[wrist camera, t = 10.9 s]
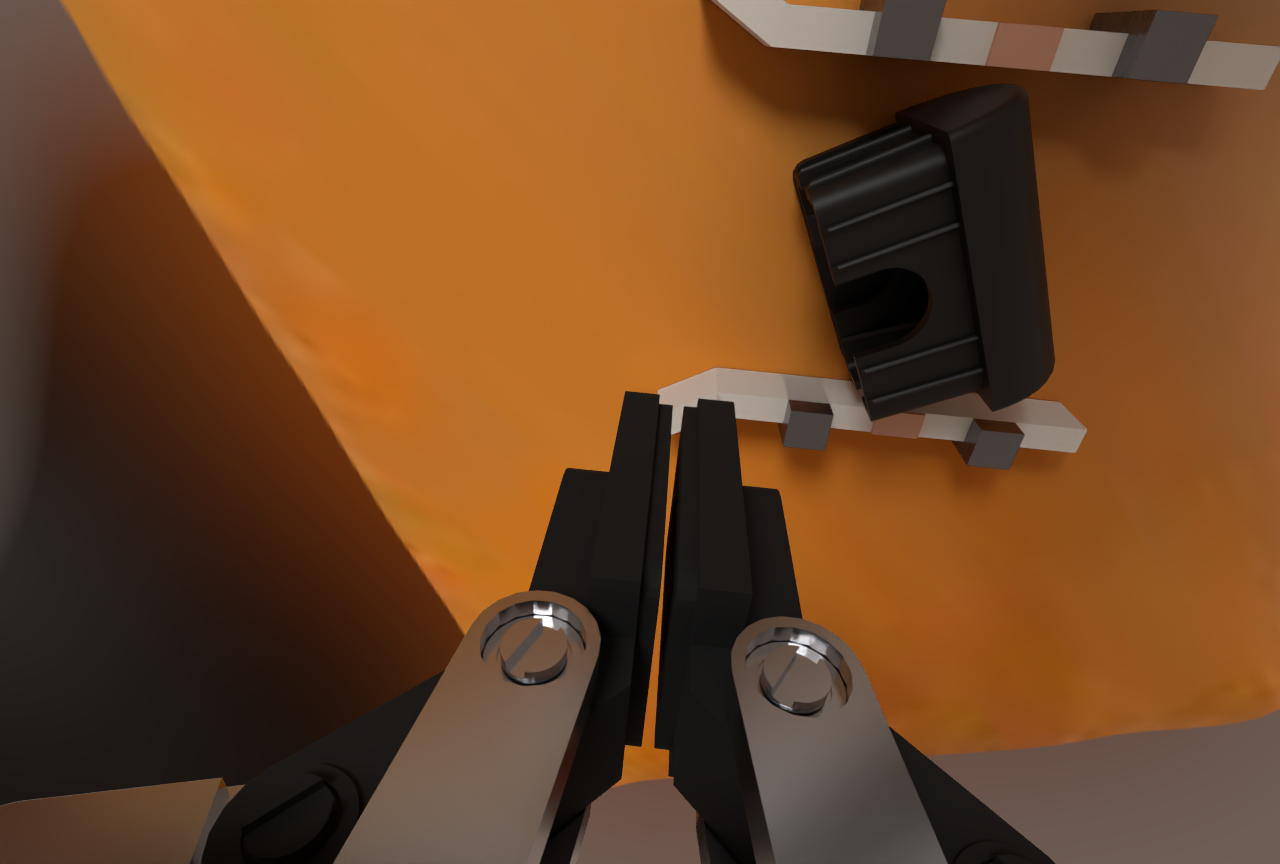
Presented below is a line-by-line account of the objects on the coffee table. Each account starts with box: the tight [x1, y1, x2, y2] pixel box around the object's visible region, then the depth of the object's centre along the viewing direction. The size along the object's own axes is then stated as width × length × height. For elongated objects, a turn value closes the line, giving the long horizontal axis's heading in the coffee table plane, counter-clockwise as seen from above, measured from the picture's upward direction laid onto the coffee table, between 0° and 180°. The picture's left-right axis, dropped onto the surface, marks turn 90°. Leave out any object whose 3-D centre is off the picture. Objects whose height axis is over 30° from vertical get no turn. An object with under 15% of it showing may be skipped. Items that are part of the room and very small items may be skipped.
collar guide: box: [658, 0, 1280, 470], centre depth 25 cm, size 18×19×4 cm
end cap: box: [793, 84, 1055, 422], centre depth 24 cm, size 10×7×7 cm
